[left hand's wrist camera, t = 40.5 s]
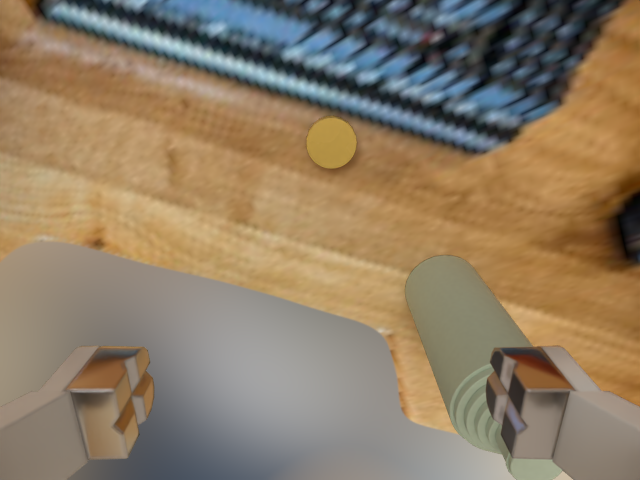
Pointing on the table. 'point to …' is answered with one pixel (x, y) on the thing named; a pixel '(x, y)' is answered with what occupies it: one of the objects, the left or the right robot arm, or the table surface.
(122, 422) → the left robot arm
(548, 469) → the bottle
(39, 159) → the table surface
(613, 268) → the table surface
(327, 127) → the cap
